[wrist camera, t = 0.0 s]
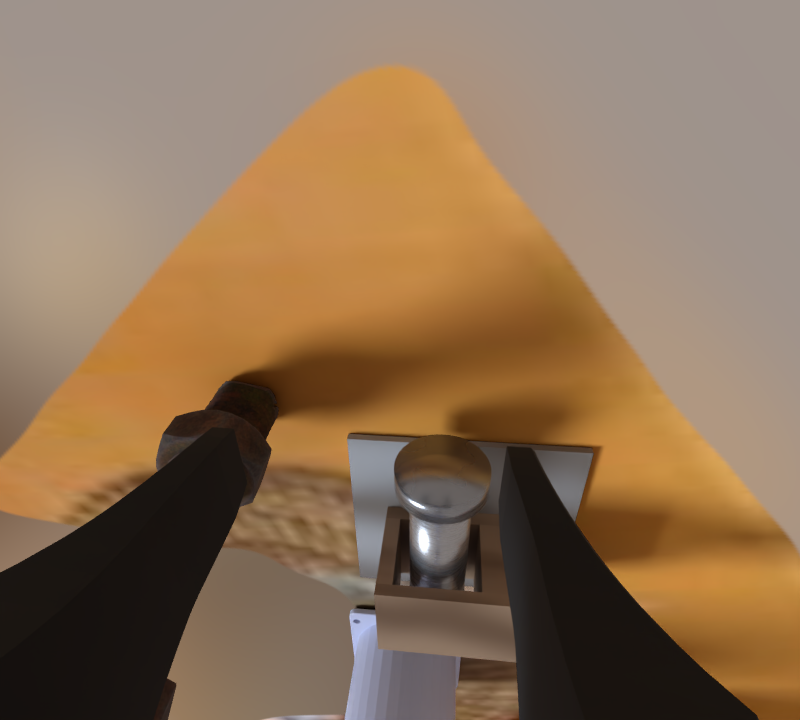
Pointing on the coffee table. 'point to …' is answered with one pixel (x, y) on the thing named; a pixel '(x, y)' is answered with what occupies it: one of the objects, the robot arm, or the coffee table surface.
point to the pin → (441, 505)
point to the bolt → (251, 422)
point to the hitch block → (489, 603)
